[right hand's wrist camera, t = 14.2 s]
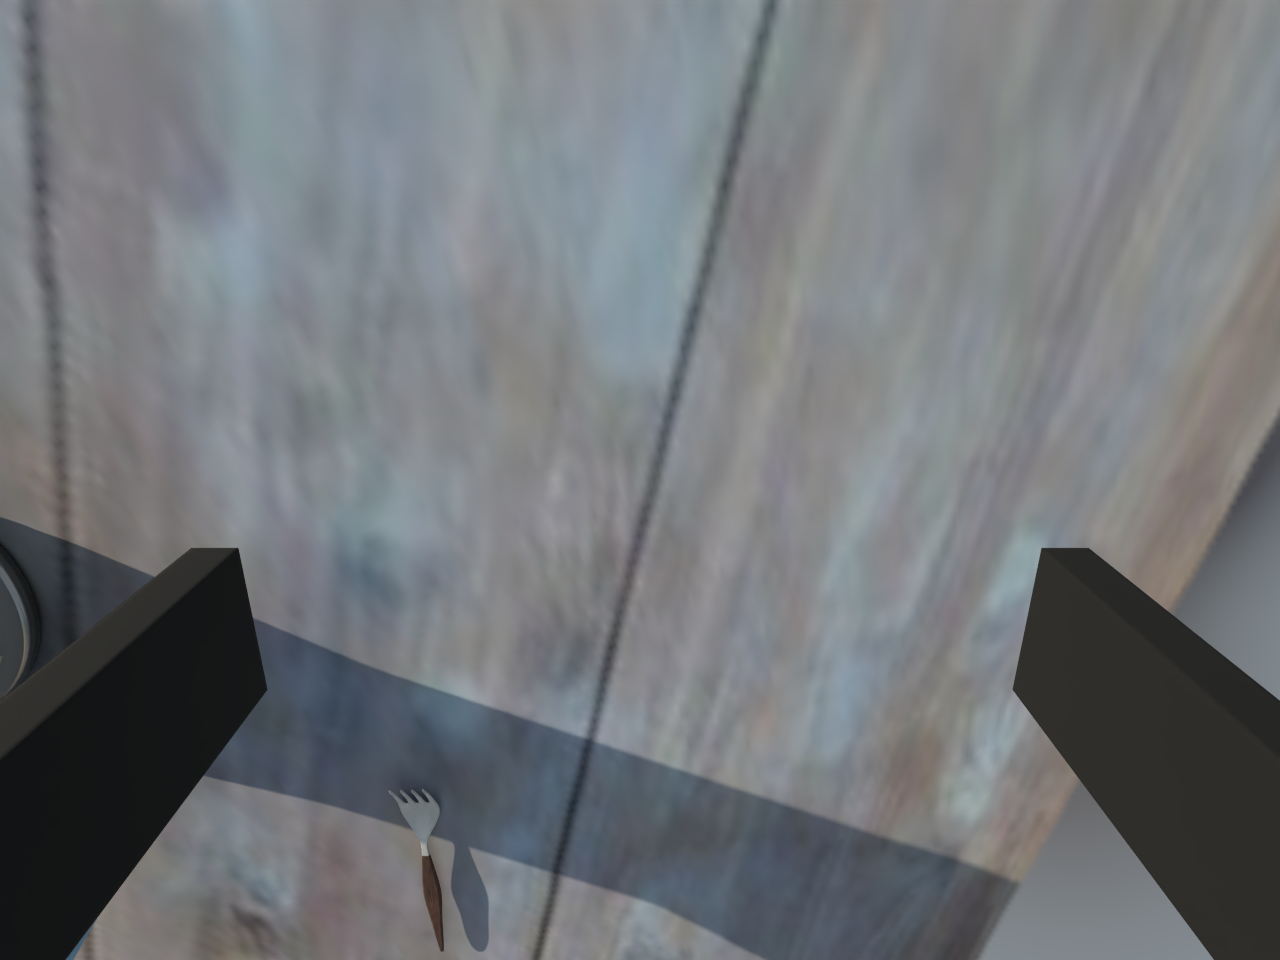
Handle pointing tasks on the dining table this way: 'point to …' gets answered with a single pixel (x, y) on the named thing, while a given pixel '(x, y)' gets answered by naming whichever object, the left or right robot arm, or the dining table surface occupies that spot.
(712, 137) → the dining table surface
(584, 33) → the dining table surface
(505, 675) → the dining table surface
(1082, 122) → the dining table surface
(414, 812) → the fork
